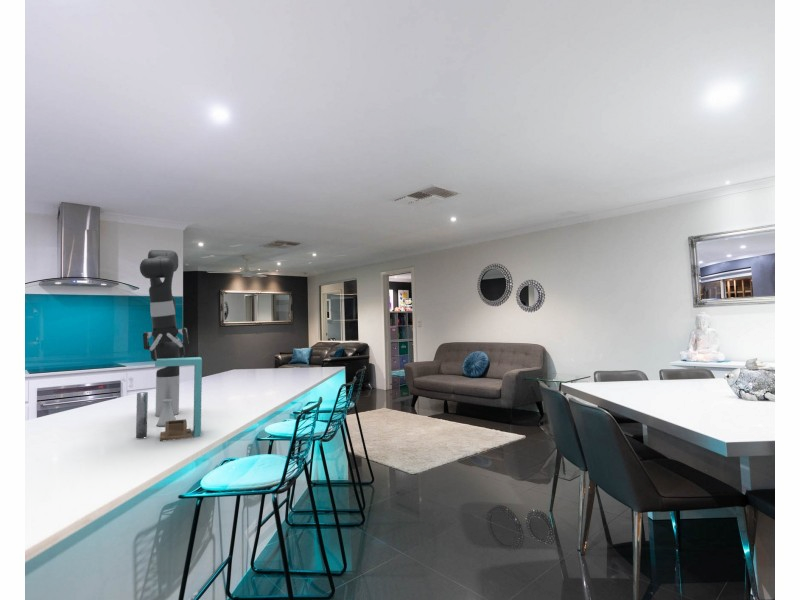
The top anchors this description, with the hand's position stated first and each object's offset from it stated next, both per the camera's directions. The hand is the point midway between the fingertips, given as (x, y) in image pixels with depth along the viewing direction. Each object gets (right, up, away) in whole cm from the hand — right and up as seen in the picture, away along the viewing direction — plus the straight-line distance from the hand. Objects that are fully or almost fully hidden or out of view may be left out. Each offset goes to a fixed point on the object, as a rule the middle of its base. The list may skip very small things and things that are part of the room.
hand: (168, 358), depth 153 cm
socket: (+1, -29, +3) cm, 29 cm away
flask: (-11, -30, +20) cm, 37 cm away
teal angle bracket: (+1, -29, +3) cm, 29 cm away
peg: (-10, -29, +1) cm, 30 cm away
